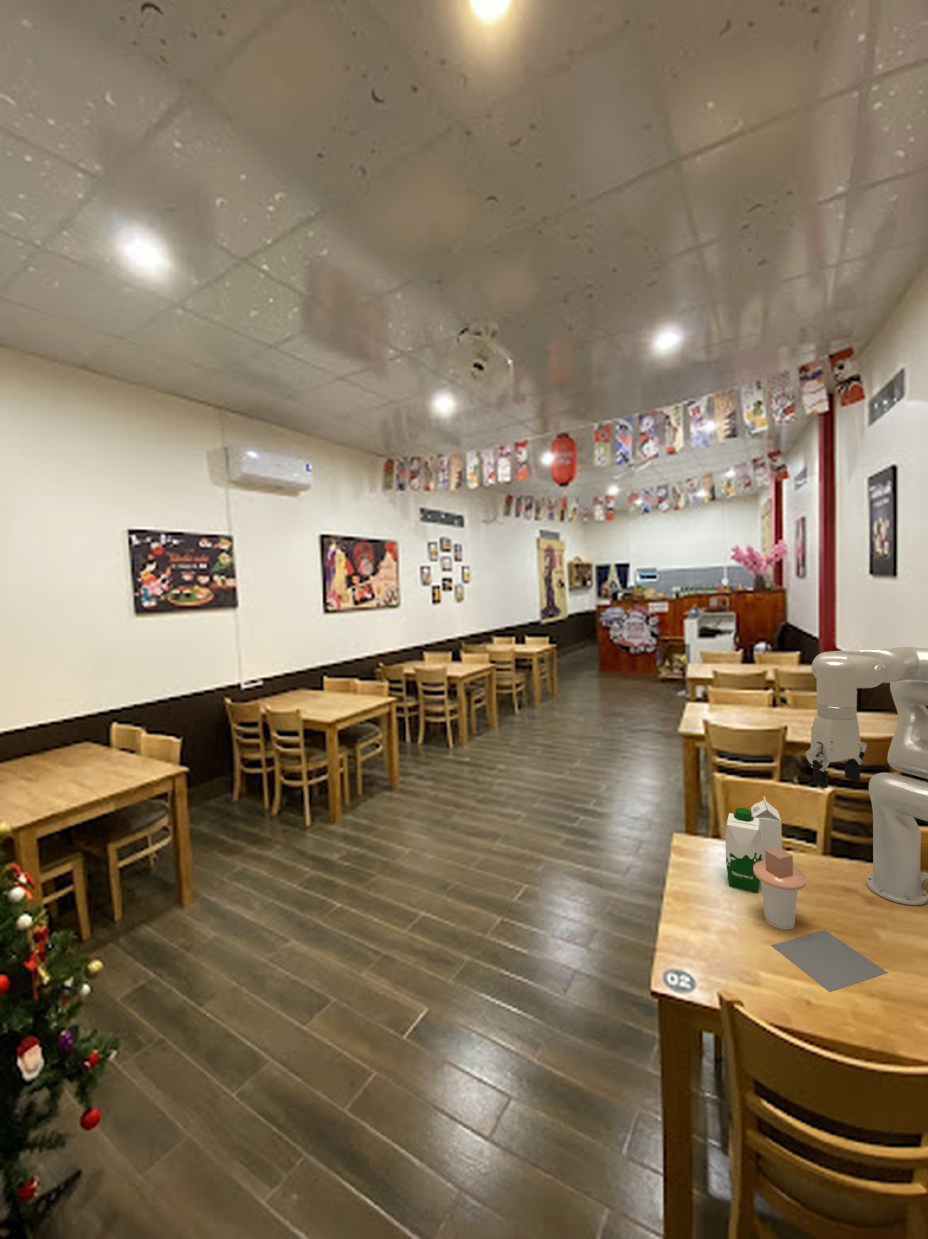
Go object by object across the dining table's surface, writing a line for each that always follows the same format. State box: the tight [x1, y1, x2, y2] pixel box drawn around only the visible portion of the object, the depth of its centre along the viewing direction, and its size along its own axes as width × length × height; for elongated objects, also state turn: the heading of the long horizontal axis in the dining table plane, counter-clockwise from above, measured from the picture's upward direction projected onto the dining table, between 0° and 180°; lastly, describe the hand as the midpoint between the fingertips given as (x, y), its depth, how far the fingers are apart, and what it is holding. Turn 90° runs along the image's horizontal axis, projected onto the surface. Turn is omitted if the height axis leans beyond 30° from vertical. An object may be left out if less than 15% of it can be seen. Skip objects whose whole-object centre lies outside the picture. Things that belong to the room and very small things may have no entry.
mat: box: [770, 929, 889, 993], centre depth 110 cm, size 16×14×1 cm
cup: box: [760, 881, 799, 930], centre depth 123 cm, size 8×8×12 cm
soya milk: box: [724, 807, 762, 894], centre depth 139 cm, size 9×9×20 cm
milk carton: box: [750, 796, 783, 861], centre depth 149 cm, size 7×7×19 cm
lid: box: [753, 848, 807, 891], centre depth 122 cm, size 11×11×6 cm
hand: (836, 782), depth 118 cm, fingers open, 9 cm apart
